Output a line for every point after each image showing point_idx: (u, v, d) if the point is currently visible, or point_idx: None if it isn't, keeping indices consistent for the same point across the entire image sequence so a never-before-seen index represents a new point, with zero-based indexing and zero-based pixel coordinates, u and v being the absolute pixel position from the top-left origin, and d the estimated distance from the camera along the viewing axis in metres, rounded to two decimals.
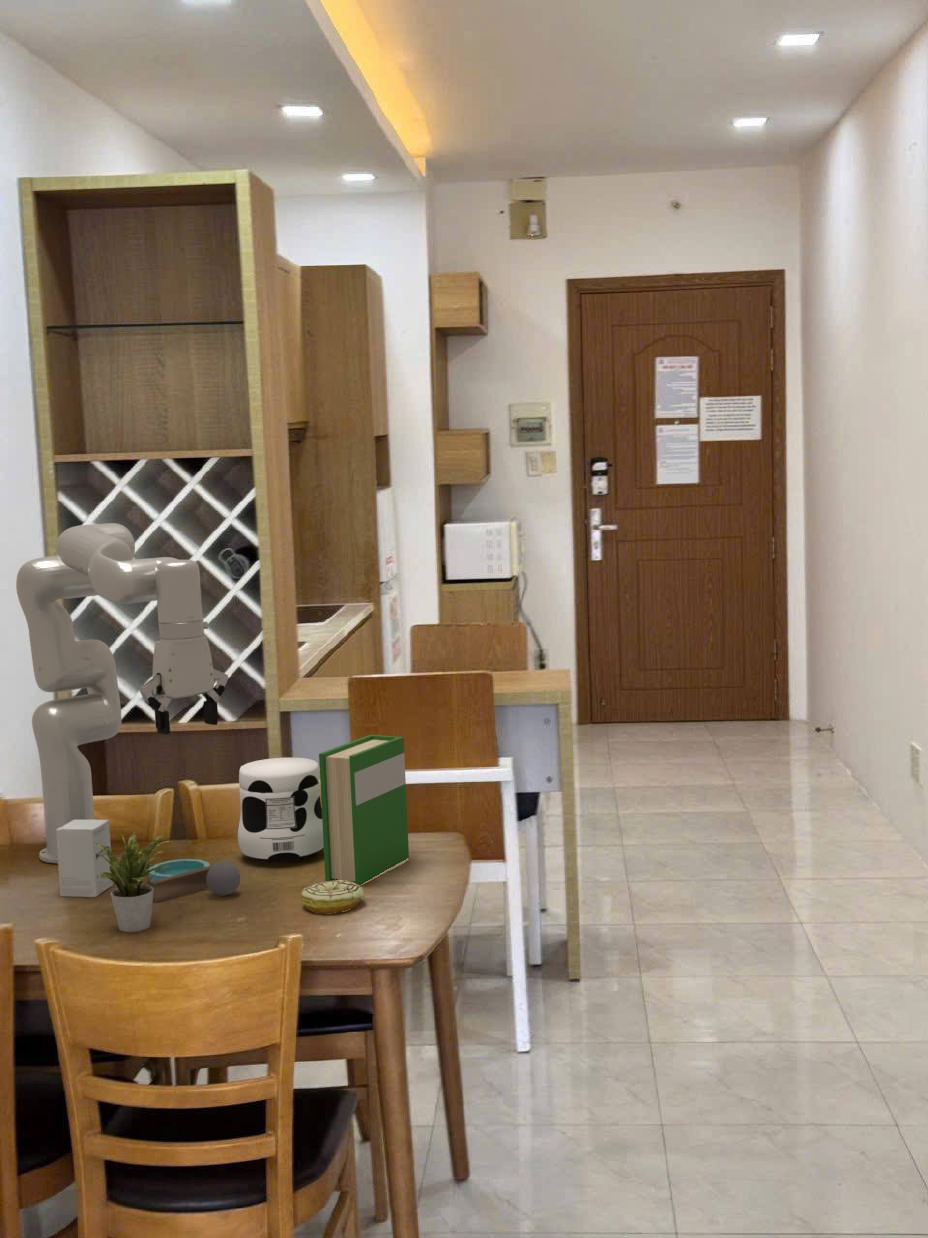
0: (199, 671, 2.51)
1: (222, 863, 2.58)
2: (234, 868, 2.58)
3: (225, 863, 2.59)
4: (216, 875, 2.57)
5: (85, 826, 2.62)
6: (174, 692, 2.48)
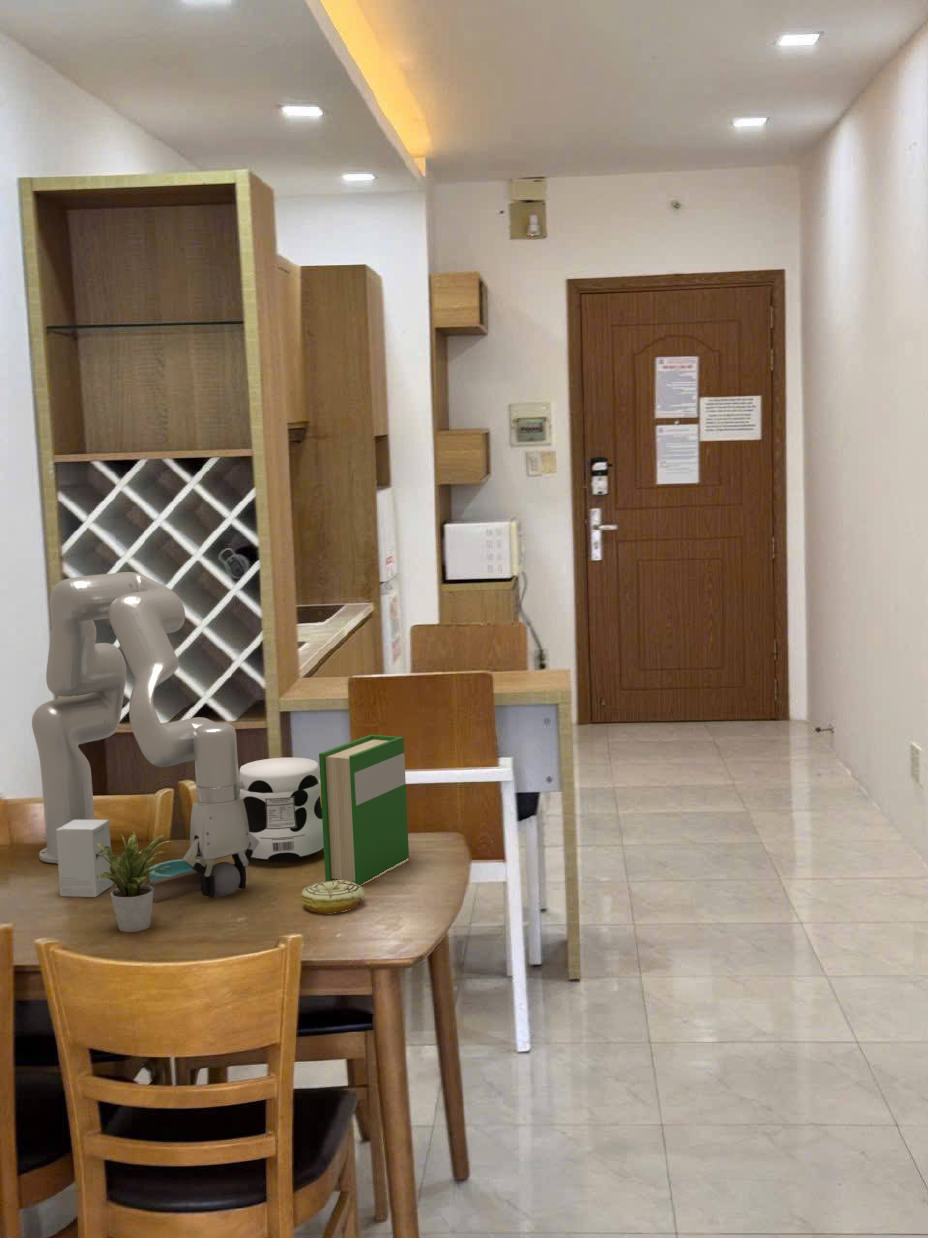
0: (236, 831, 2.58)
1: (222, 863, 2.58)
2: (234, 868, 2.58)
3: (225, 863, 2.59)
4: (216, 875, 2.57)
5: (85, 826, 2.62)
6: (211, 854, 2.55)
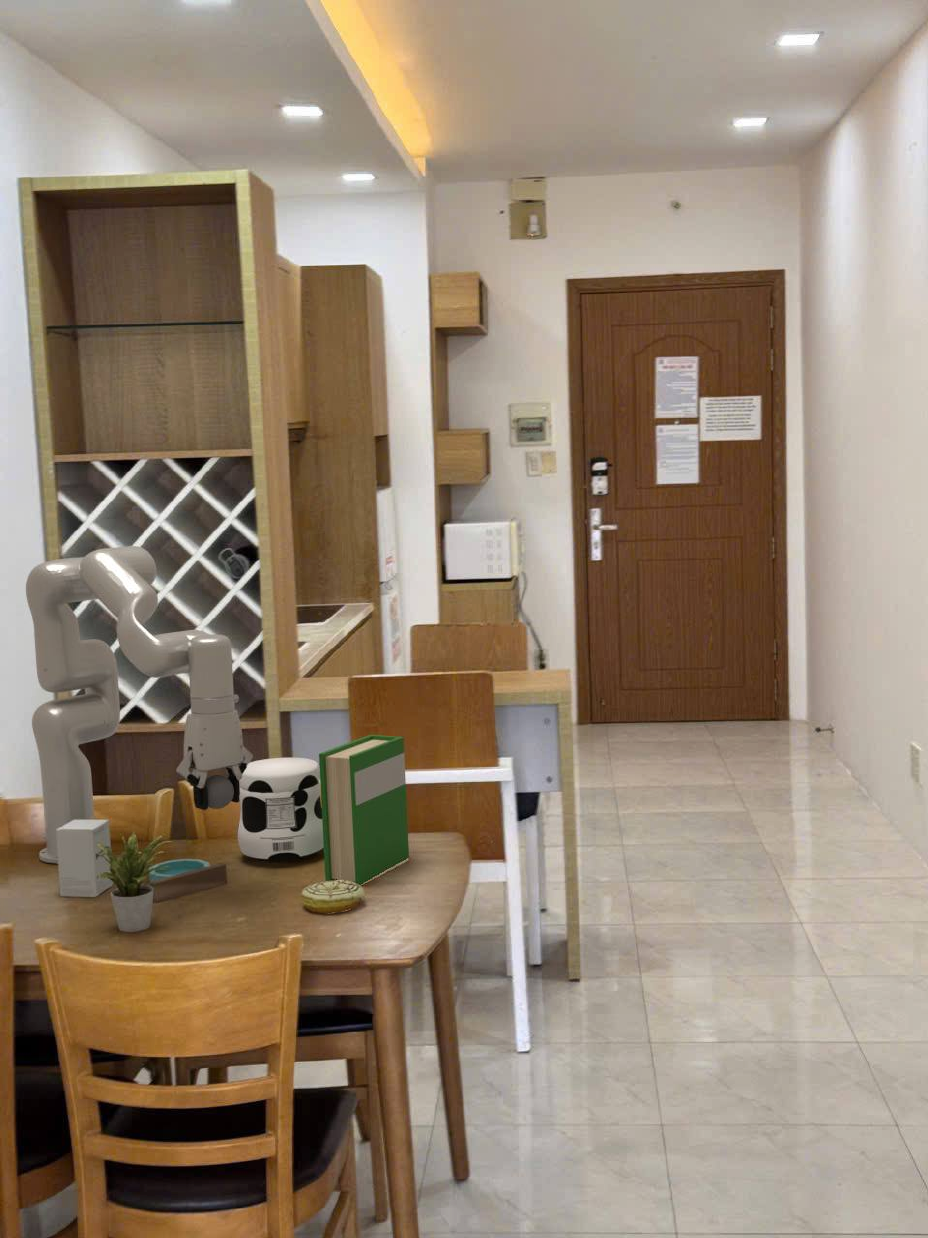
0: (230, 744, 2.56)
1: (216, 776, 2.57)
2: (228, 781, 2.57)
3: (219, 776, 2.57)
4: (209, 787, 2.55)
5: (85, 826, 2.62)
6: (205, 766, 2.53)
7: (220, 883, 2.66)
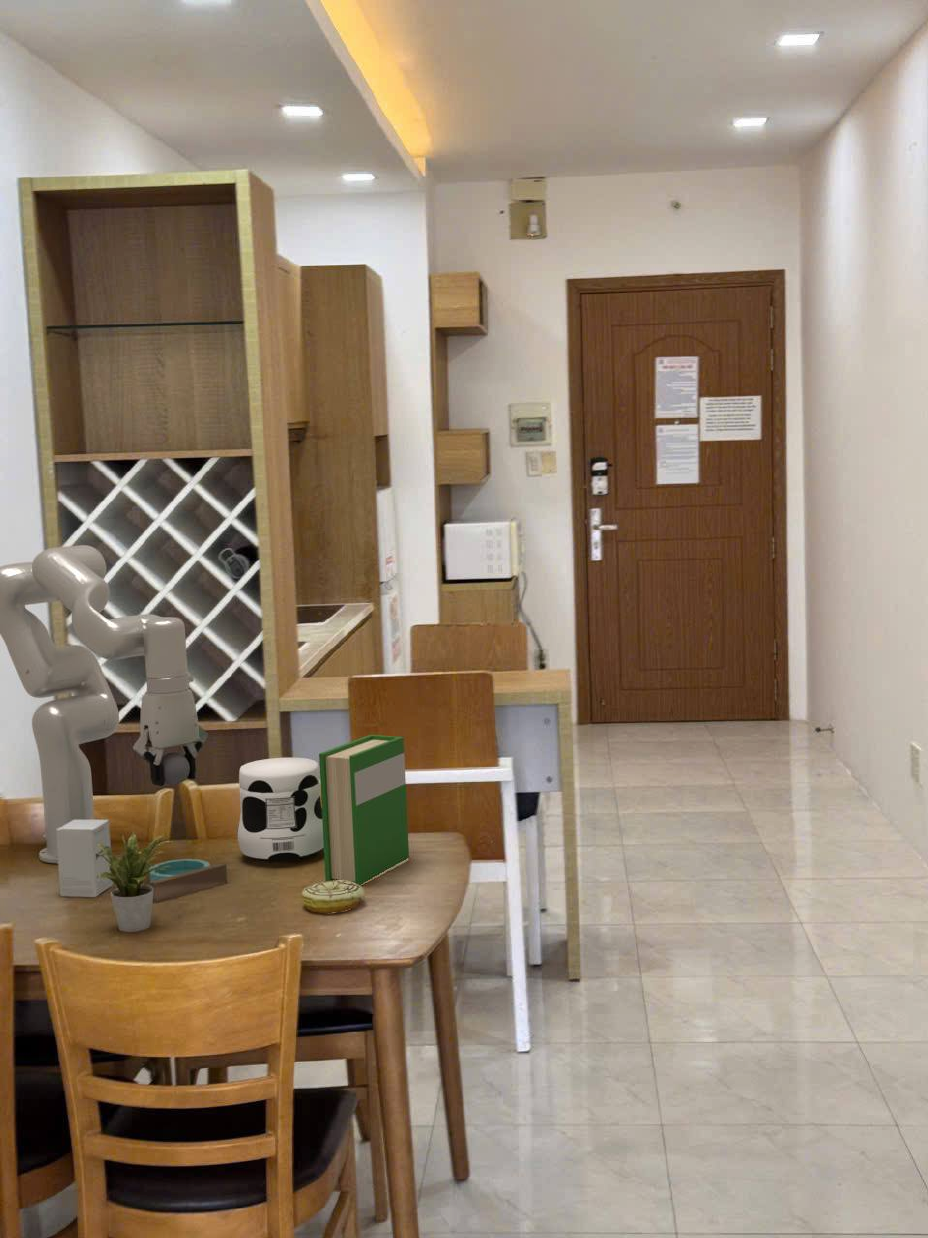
0: (185, 722, 2.66)
1: (172, 753, 2.67)
2: (183, 758, 2.67)
3: (175, 753, 2.67)
4: (165, 764, 2.65)
5: (85, 826, 2.62)
6: (160, 743, 2.63)
7: (220, 883, 2.66)
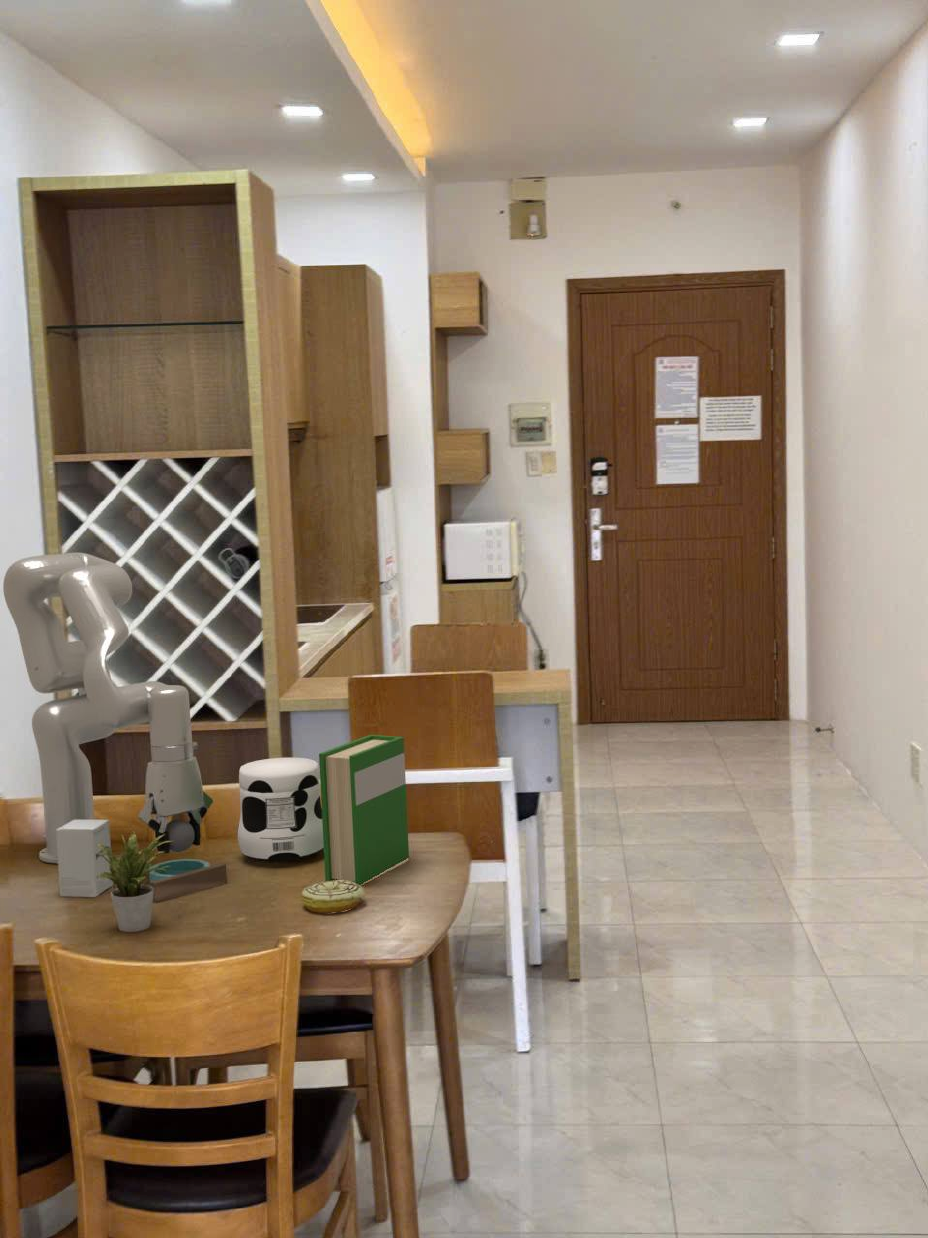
0: (189, 790, 2.67)
1: (177, 820, 2.68)
2: (188, 825, 2.68)
3: (180, 820, 2.68)
4: (170, 831, 2.66)
5: (85, 826, 2.62)
6: (165, 811, 2.64)
7: (220, 883, 2.66)
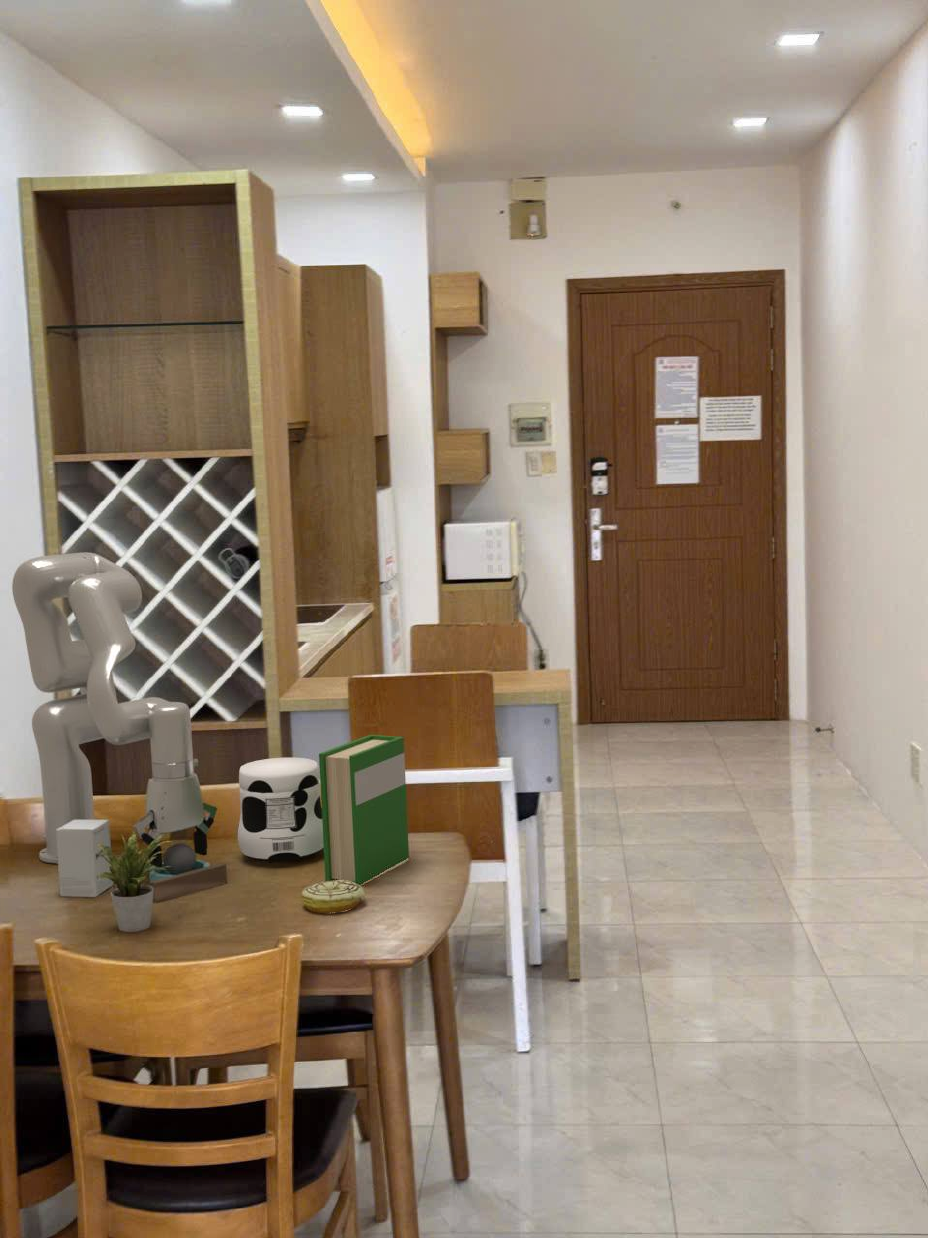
0: (190, 806, 2.68)
1: (179, 844, 2.69)
2: (191, 850, 2.69)
3: (182, 844, 2.69)
4: (172, 855, 2.67)
5: (85, 826, 2.62)
6: (166, 828, 2.65)
7: (220, 883, 2.66)
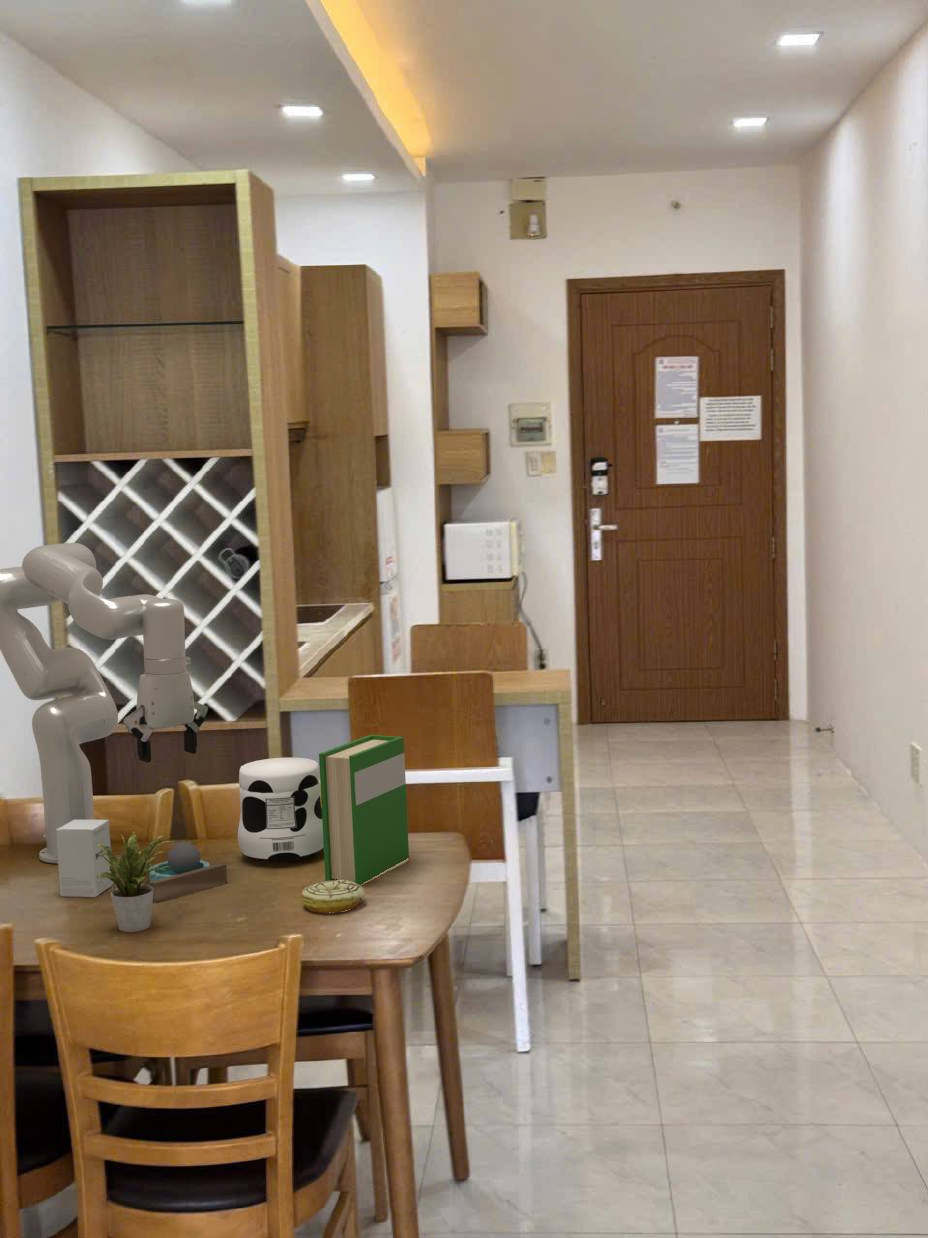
0: (181, 704, 2.68)
1: (188, 843, 2.70)
2: (197, 851, 2.70)
3: (191, 844, 2.70)
4: (179, 850, 2.68)
5: (85, 826, 2.62)
6: (156, 724, 2.65)
7: (220, 883, 2.66)
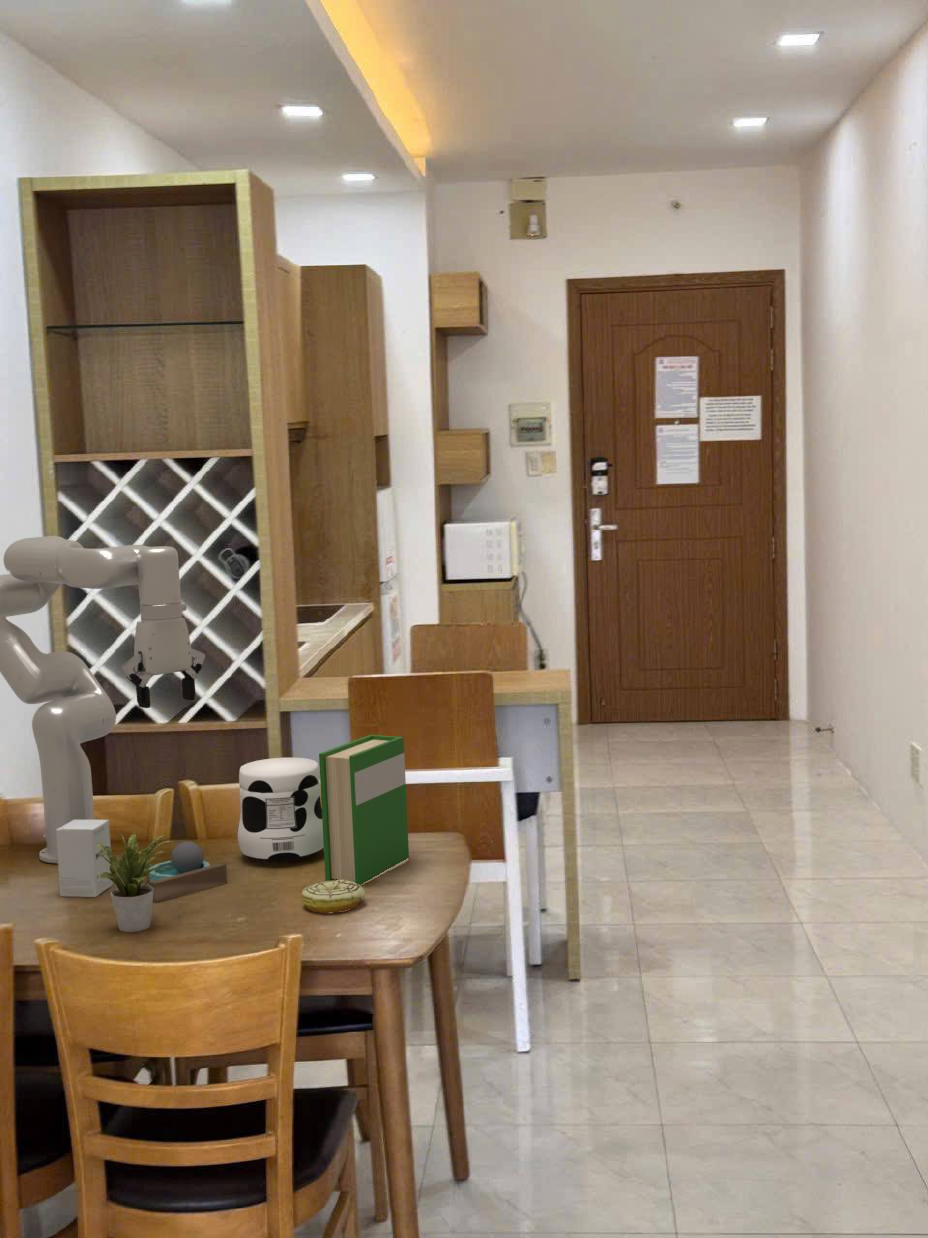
0: (178, 649, 2.70)
1: (195, 843, 2.71)
2: (202, 852, 2.71)
3: None
4: (185, 847, 2.69)
5: (85, 826, 2.62)
6: (154, 669, 2.68)
7: (220, 883, 2.66)
